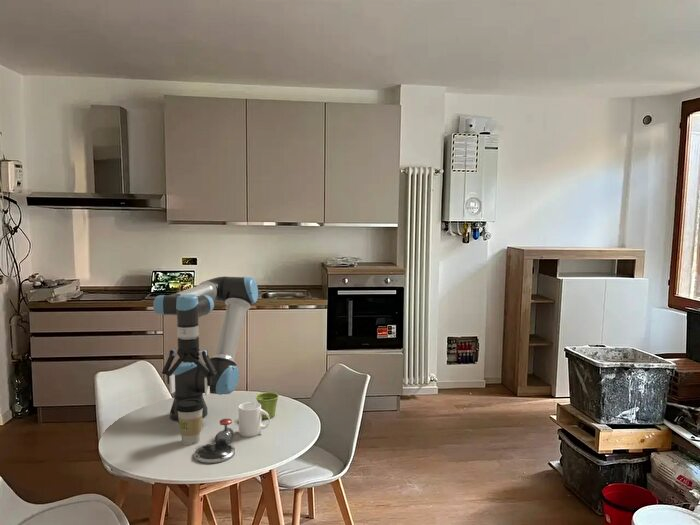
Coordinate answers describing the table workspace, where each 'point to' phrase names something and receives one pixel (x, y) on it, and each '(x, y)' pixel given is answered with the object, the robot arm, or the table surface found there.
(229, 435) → the metal device with knob
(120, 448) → the table surface
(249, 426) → the mug
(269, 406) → the plant pot
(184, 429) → the coffee cup
